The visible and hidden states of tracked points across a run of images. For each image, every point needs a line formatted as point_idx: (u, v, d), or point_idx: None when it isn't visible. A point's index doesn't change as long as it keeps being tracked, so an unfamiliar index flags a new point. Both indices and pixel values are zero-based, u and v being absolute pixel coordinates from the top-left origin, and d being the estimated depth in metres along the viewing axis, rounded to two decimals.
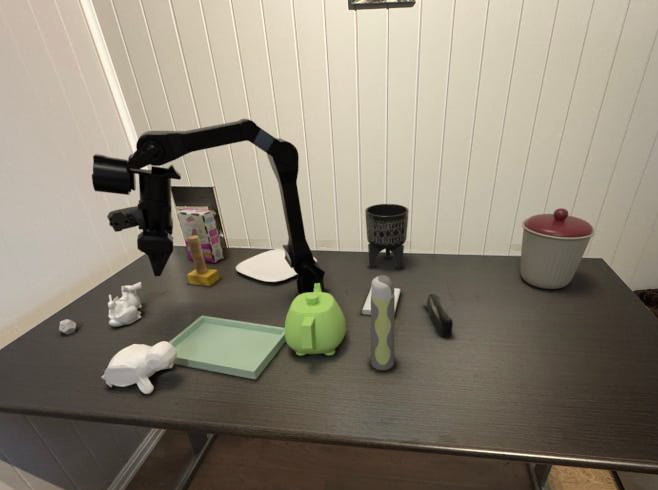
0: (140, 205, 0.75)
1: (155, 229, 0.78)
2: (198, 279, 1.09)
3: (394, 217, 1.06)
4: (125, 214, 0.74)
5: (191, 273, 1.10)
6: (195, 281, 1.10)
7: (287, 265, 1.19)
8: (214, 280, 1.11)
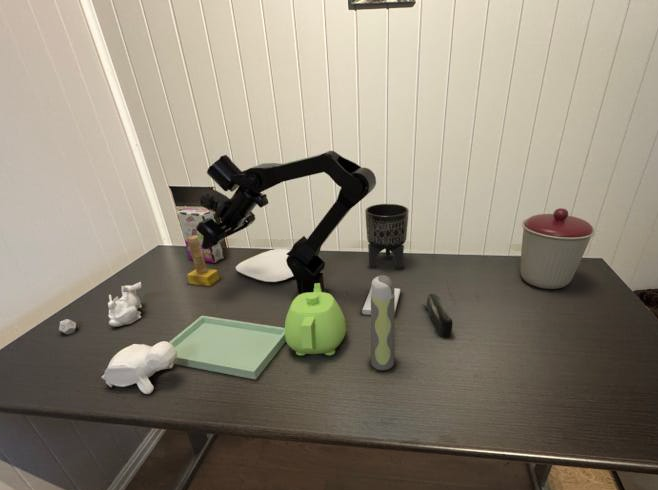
0: (225, 202, 0.94)
1: (223, 222, 0.96)
2: (198, 279, 1.09)
3: (394, 217, 1.06)
4: (212, 201, 0.94)
5: (191, 273, 1.10)
6: (195, 281, 1.10)
7: (287, 265, 1.19)
8: (214, 280, 1.11)
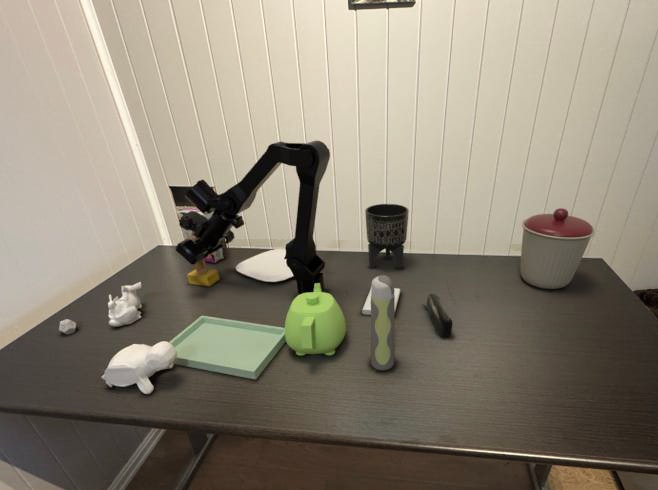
0: (203, 224, 0.99)
1: (202, 241, 1.02)
2: (198, 279, 1.09)
3: (394, 217, 1.06)
4: (190, 222, 0.99)
5: (191, 273, 1.10)
6: (195, 281, 1.10)
7: None
8: (214, 280, 1.11)
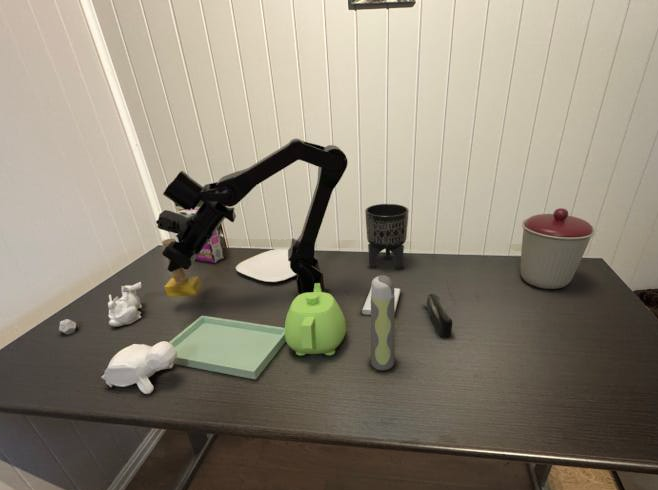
0: (189, 222, 0.86)
1: (188, 243, 0.88)
2: (181, 289, 0.94)
3: (394, 217, 1.06)
4: (173, 222, 0.85)
5: (169, 284, 0.95)
6: (176, 293, 0.95)
7: (287, 265, 1.19)
8: (198, 288, 0.98)
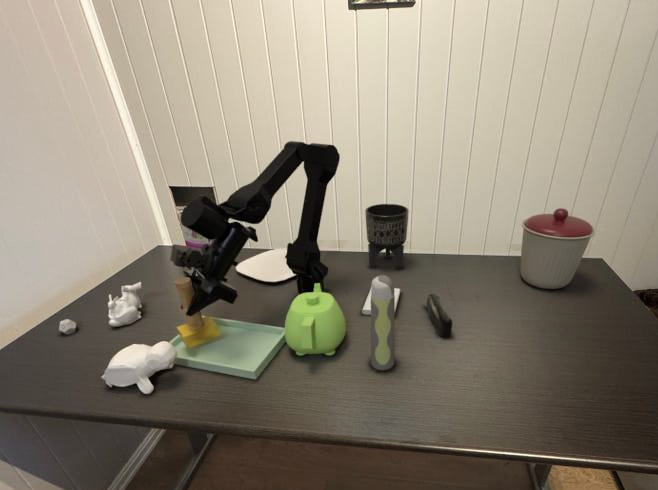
0: (215, 251, 0.74)
1: (214, 276, 0.76)
2: (203, 333, 0.80)
3: (394, 217, 1.06)
4: None
5: (186, 333, 0.78)
6: (197, 340, 0.79)
7: (287, 265, 1.19)
8: None
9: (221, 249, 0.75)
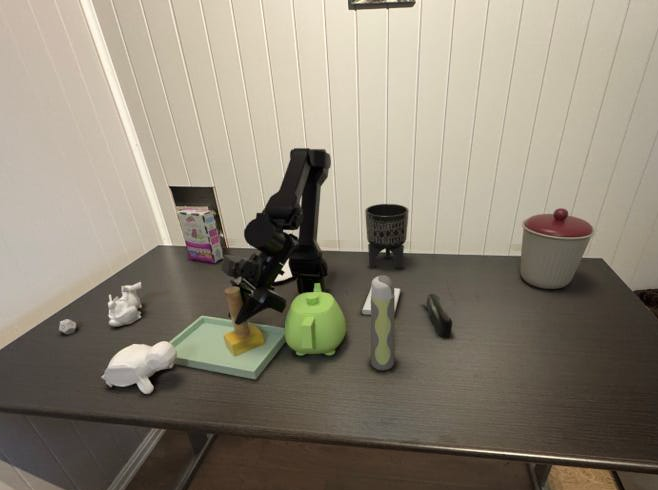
0: (264, 261, 0.76)
1: (263, 286, 0.77)
2: (249, 341, 0.81)
3: (394, 217, 1.06)
4: None
5: (233, 341, 0.80)
6: (244, 348, 0.81)
7: (287, 265, 1.19)
8: None
9: (270, 259, 0.77)
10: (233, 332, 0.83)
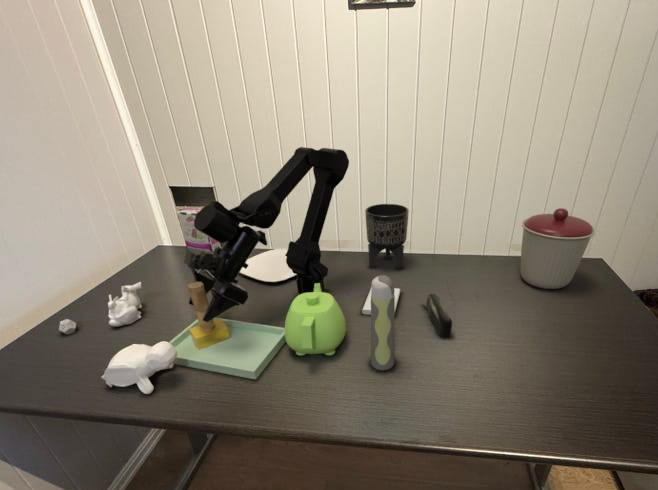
0: (226, 254, 0.78)
1: (225, 278, 0.79)
2: (214, 336, 0.83)
3: (394, 217, 1.06)
4: None
5: (197, 335, 0.82)
6: (208, 342, 0.83)
7: (287, 265, 1.19)
8: None
9: (232, 252, 0.79)
10: (199, 326, 0.85)
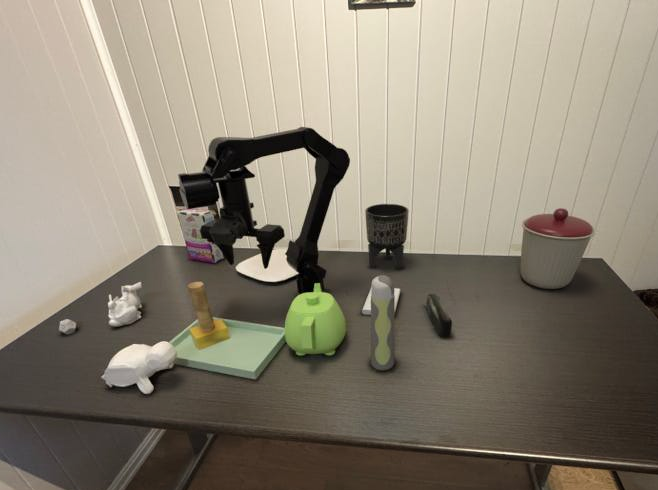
0: (239, 211, 0.80)
1: (251, 227, 0.84)
2: (214, 336, 0.83)
3: (394, 217, 1.06)
4: None
5: (197, 335, 0.82)
6: (208, 342, 0.83)
7: (287, 265, 1.19)
8: None
9: (240, 205, 0.80)
10: (199, 326, 0.85)
